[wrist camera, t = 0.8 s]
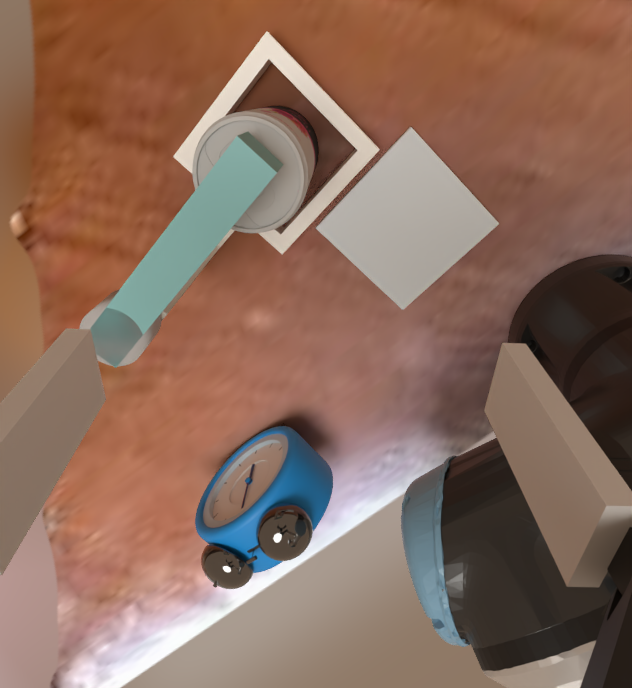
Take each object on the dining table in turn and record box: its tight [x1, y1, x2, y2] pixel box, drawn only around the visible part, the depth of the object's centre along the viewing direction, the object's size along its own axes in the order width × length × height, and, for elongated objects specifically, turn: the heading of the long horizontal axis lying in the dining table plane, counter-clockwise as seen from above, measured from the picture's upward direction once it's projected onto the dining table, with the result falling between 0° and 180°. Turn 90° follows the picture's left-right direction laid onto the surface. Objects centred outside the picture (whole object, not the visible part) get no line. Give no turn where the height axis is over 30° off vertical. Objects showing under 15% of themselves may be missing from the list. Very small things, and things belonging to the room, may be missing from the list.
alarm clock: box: [195, 423, 333, 589], centre depth 48 cm, size 13×6×15 cm, turn 129°
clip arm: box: [80, 132, 284, 368], centre depth 27 cm, size 4×15×3 cm, turn 138°
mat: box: [316, 127, 499, 310], centre depth 43 cm, size 11×11×1 cm
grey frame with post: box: [160, 32, 380, 321], centre depth 35 cm, size 11×18×16 cm, turn 137°
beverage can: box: [192, 106, 318, 233], centre depth 34 cm, size 6×7×15 cm
